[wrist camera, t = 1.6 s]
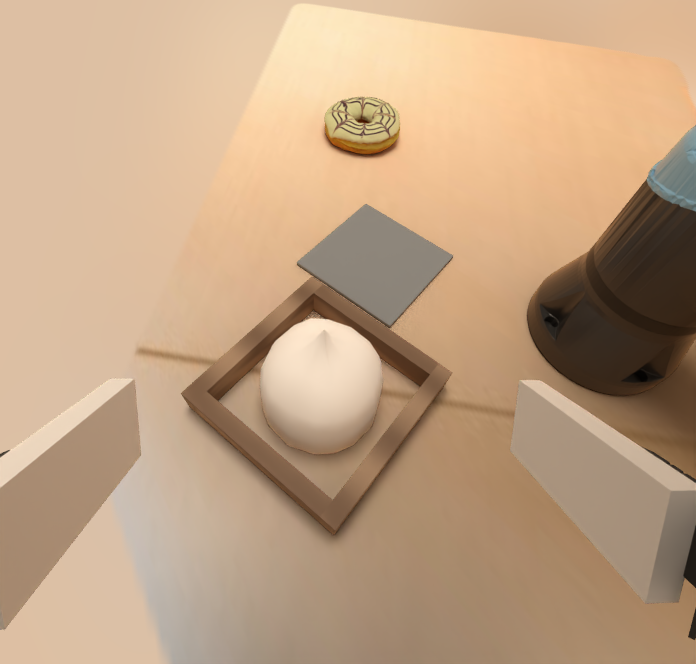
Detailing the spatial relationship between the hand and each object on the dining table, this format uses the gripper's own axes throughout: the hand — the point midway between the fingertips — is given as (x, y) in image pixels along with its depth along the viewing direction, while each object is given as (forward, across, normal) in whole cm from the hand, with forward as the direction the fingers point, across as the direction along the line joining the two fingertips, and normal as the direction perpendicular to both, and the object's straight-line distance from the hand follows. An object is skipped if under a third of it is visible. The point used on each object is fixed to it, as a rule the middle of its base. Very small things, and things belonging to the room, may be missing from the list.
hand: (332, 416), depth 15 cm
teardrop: (+25, 0, -9) cm, 26 cm away
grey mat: (+36, +6, +3) cm, 37 cm away
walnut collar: (+24, 0, -9) cm, 26 cm away
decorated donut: (+54, +6, +20) cm, 57 cm away
